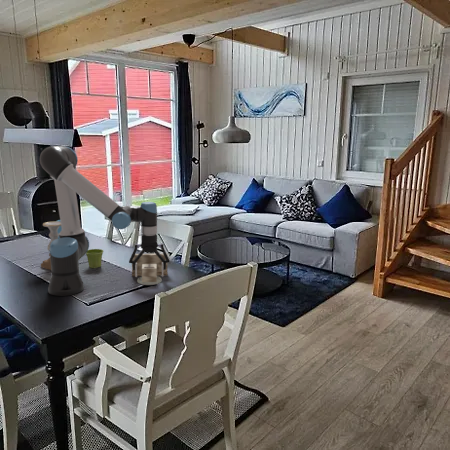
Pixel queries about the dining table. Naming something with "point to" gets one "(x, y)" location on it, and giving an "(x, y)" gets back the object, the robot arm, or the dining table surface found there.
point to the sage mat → (149, 282)
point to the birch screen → (150, 260)
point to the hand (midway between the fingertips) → (149, 276)
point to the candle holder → (53, 235)
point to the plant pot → (94, 257)
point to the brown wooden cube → (149, 272)
